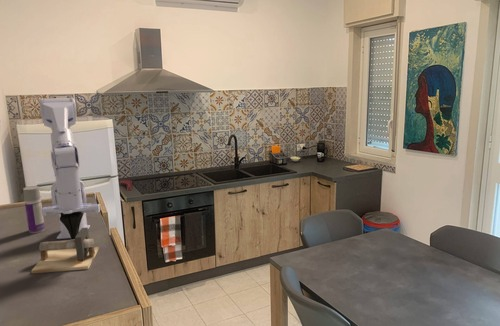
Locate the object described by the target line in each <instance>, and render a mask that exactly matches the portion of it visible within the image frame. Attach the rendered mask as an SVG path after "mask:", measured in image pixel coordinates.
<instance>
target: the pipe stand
mask: <svg viewBox="0 0 500 326" xmlns="http://www.w3.org/2000/svg"><path fill="white" fill-rule="evenodd" d="M38 247H39V251H40V253H39V254H40V258H41V259H39V260H38V262H37V263H36V265H35V266H34V267H33V268H32V269H31V274H32V275H33V274H43V273H44V274H45V273H55V272H56V273H58V272H67V271H68V272H69V271H78V270H89V269H90V266H91V265H92V262H93V261H94V260H95V257H96V255H97V253H98V252H99V250H100V247H99V246H95V241H94V238H89V239H84V248H89V252H88V254H87V256H86V257H85V259H84V260H81V261H77V252H76V244H75V239H69V240H55V241H52V240H51V241H42V242H40V243H39V246H38Z"/></svg>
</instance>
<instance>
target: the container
mask: <svg viewBox="0 0 500 326" xmlns="http://www.w3.org/2000/svg"><path fill="white" fill-rule="evenodd" d="M22 189H23V199H24V201H23V202H24V208H25V213H26V220H27V227H28V233H29V234H39V233H42V232H44V231H45V230H46V228H45V219H44V216H42V210H41V209H42V208H43V206H42V198H41V192H40V187H39V186H38V185H31V186H30V185H29V186H26V187H23V188H22Z"/></svg>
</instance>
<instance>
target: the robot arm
mask: <svg viewBox="0 0 500 326" xmlns="http://www.w3.org/2000/svg"><path fill="white" fill-rule="evenodd" d="M38 102H39V109H40V116H41V120H42V123H43V125H44V126H45V127H48V128H50V130H51V133H50V141H51V150H50V159H51V167H52V169H53V172H54V177H55V182H54V183H52V184H51V187H50V190H51V192H50V193H51V202H52V203H51V204H52V205H51V206H50V205H49V206H44V207H42V209H41V210H42V216H43V217H46V216H49V215H50V216H51V215H58V219H59V220H58V221H59V228H60V233H59V234H58V235H57V236H56V239H57V240H61V239H63V240H64V239H70V240H75V237H76V235H77V234H78V232H79V231H80V230H81V228H88V230H89V228H90V227H91V225H90V224H88V221H87V213H95V214H98V213H100V211H101V204H100V203H87V194H86V193H87V192H86V189H85V183H84V182H83V180H81V178H80V171H79V169H80V164H81V163H80V162H81V161H80V154H79V153H80V152H79V149H78V146H77V144H76V142H75V136H74V131H72V130H71V127H72V126H74V125H76V122H77V105H76V100H75V98H74V97H59V98H57V97H55V98H50V97H49V98H43V97H40V99H39V101H38Z"/></svg>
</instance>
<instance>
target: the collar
mask: <svg viewBox="0 0 500 326" xmlns="http://www.w3.org/2000/svg"><path fill="white" fill-rule="evenodd" d="M84 239H90V237H89V229H88V228H81V230H80V231H79V232H78V234H77V235H76V237H75V239H74V240H75V244H76V252H77V261H81V260H84V259H85V257H86V256H87V254H88V252H89V248H84Z"/></svg>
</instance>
